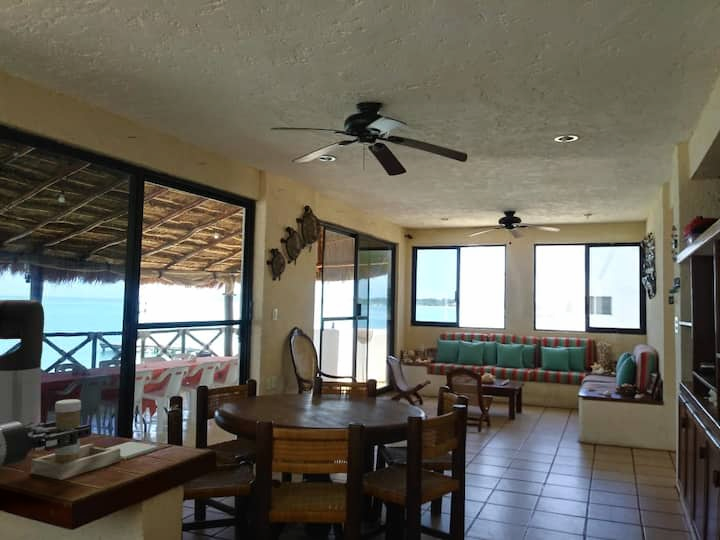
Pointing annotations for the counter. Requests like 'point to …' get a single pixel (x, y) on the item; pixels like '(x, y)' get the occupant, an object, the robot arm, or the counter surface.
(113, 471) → the counter surface
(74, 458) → the sprinkles bottle
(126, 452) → the pad
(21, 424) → the robot arm
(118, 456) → the rectangular wooden frame
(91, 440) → the counter surface
